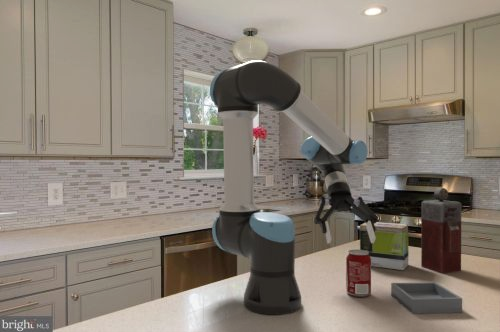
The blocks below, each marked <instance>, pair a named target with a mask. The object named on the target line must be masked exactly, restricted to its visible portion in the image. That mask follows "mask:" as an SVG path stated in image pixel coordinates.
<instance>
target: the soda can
mask: <svg viewBox="0 0 500 332" xmlns="http://www.w3.org/2000/svg"><path fill="white" fill-rule="evenodd" d="M368 254H369V252H368V251H365V250H360V249H349V250H348V253H347V255H346V257H345V291H346V293H348V294H349V295H350V296H352V297H355V298H356V297H357V298H365V297H367V296H370V295H371V294H372V266H371V258H370V256H369V255H368Z"/></svg>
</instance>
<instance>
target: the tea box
mask: <svg viewBox="0 0 500 332" xmlns="http://www.w3.org/2000/svg"><path fill="white" fill-rule="evenodd" d="M366 224H367V223H366V222H364V223H362V224H360V225H359V250H365V251H368V252H369V254H368V255H369V256H370V258H371V267H376V268H382V269H383V268H385V269H390V270H398V271H404V270H405V269H406V268H407V267H408V266H409V257H410V256H409V253H410V251H409V224H407V223H393V222H381V221H380V222H379V221H378V222H376V223H374V225H375V228H376V230H375V232H374V234H375V237H376V239H375V241H374V243H371V241H370V238H369V234H368V231H367V228H366Z"/></svg>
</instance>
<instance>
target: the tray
mask: <svg viewBox="0 0 500 332" xmlns="http://www.w3.org/2000/svg"><path fill="white" fill-rule="evenodd" d="M390 286H391V287H390V288H391V289H390V290H391V291H390V295H391V297H393V298H394V299H395V300H396V301H397V302H398V303H399V304H400V305H402V306H403V307H404V308H405V309H406V310H408V312H410V314H413V315H414V314H415V315H416V314H418V315H419V314H449V313H450V314H452V313H453V314H454V313H455V314H456V313H463V298H462V297H460V296H459V295H457V294H455V293H454V292H452V291H451V290H449V289H447V288H446V287H444V286H442V285H441V284H439V283H438V282H436V281H429V282H427V281H426V282H424V281H423V282H421V281H420V282H391V283H390Z"/></svg>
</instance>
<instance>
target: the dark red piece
mask: <svg viewBox="0 0 500 332" xmlns="http://www.w3.org/2000/svg"><path fill="white" fill-rule="evenodd" d="M433 195H434V200H433V199H431V200H423V201H421V242H420V243H421V246H420V247H421V253H420V255H421V260H420V261H421V267H422V268H424V269H427V270H429V271H430V270H431V271H433V272H436V273H439V274H448V273H454V272H456V273H457V272H461V271H462V203H461V202H459V201H455V200H454V201H453V200H452V201H451V200H447V199H448V198H449V191H448V189H447V188H445V187H437V188H435V190H434V193H433Z"/></svg>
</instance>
